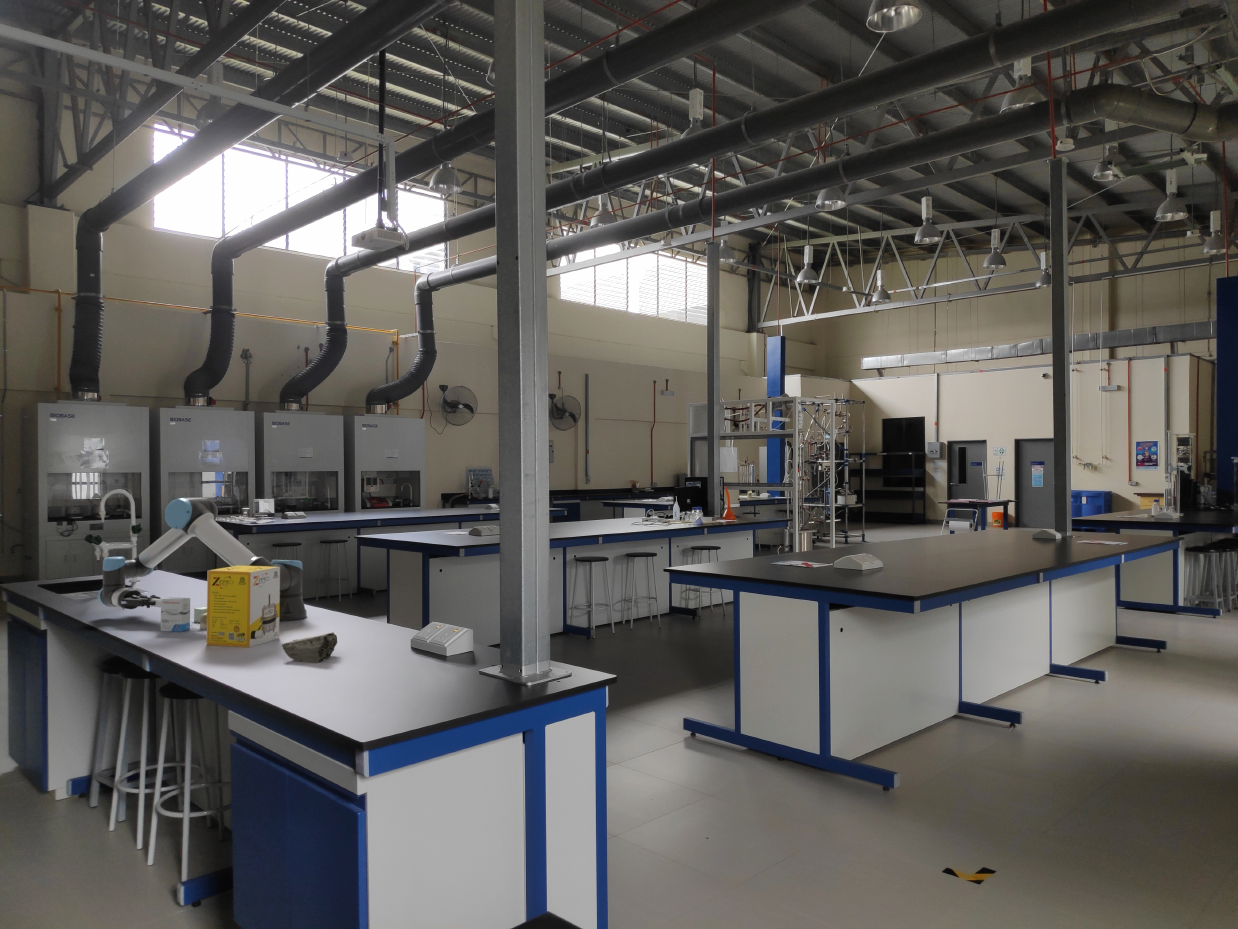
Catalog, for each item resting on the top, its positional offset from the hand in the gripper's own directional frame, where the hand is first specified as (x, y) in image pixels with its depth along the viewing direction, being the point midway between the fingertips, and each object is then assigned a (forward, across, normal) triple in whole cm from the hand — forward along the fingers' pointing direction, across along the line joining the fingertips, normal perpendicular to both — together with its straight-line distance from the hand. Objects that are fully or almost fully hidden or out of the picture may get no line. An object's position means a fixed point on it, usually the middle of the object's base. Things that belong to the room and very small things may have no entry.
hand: (162, 603), depth 302 cm
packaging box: (+48, 0, -10) cm, 49 cm away
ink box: (+10, +1, -9) cm, 13 cm away
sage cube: (0, -16, -9) cm, 18 cm away
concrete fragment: (+88, +3, -10) cm, 89 cm away
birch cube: (+15, -9, -9) cm, 20 cm away
